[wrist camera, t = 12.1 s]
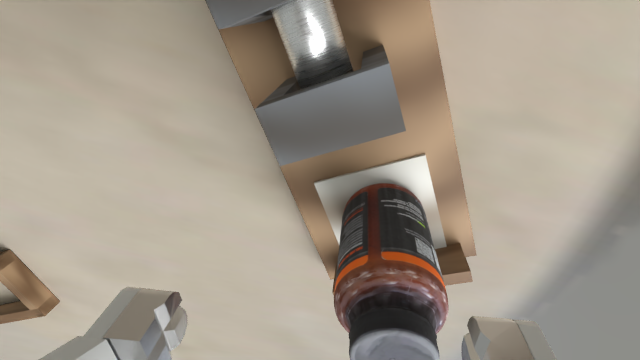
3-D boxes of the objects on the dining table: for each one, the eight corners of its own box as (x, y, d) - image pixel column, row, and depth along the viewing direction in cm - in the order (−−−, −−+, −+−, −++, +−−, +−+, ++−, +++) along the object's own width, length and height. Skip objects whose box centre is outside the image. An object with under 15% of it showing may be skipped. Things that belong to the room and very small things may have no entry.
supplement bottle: (338, 238, 26) (318, 384, 16) (349, 173, 23) (332, 302, 13) (413, 251, 25) (440, 408, 16) (434, 186, 22) (483, 330, 13)
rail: (151, -147, 17) (-1, -251, 10) (370, -288, 14) (371, -588, 7) (332, 267, 30) (320, 351, 23) (471, 242, 26) (509, 331, 19)
